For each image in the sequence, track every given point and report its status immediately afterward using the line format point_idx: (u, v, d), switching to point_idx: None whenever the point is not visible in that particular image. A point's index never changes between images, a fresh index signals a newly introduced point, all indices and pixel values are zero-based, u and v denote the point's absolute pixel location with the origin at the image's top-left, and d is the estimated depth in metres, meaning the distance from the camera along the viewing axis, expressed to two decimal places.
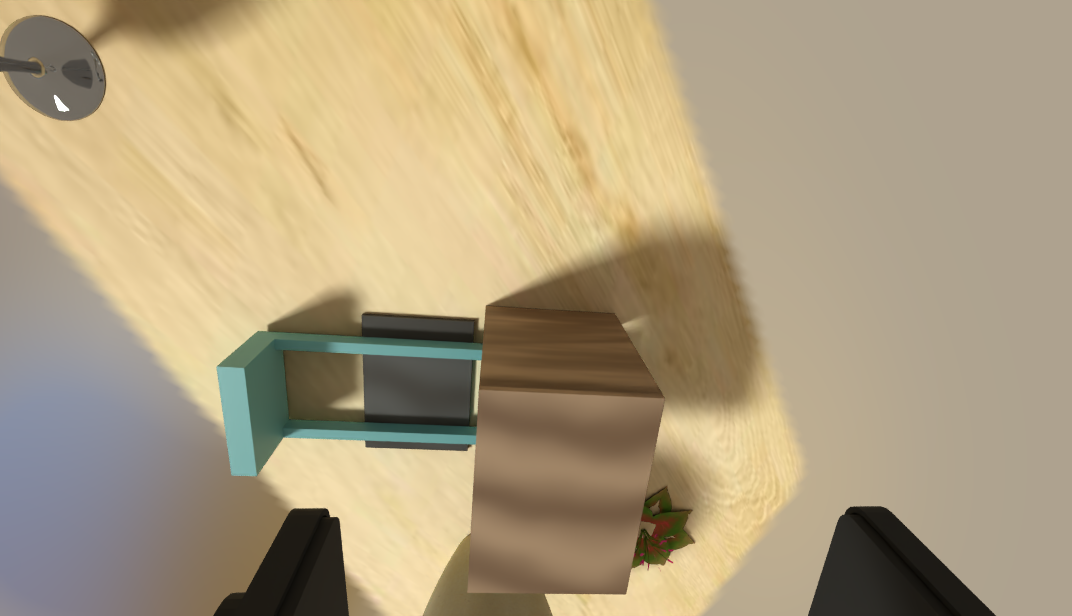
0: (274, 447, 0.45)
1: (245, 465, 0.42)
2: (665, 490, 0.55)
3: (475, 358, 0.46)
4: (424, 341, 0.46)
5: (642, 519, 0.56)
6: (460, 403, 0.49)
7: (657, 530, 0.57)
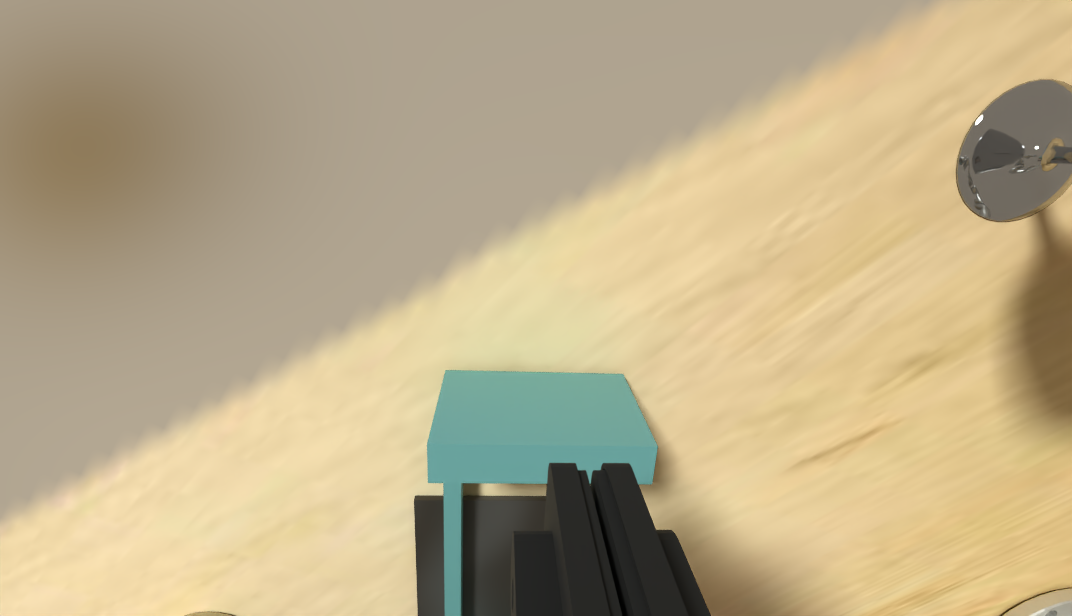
0: None
1: (451, 467, 0.22)
2: None
3: None
4: None
5: None
6: (497, 609, 0.34)
7: None
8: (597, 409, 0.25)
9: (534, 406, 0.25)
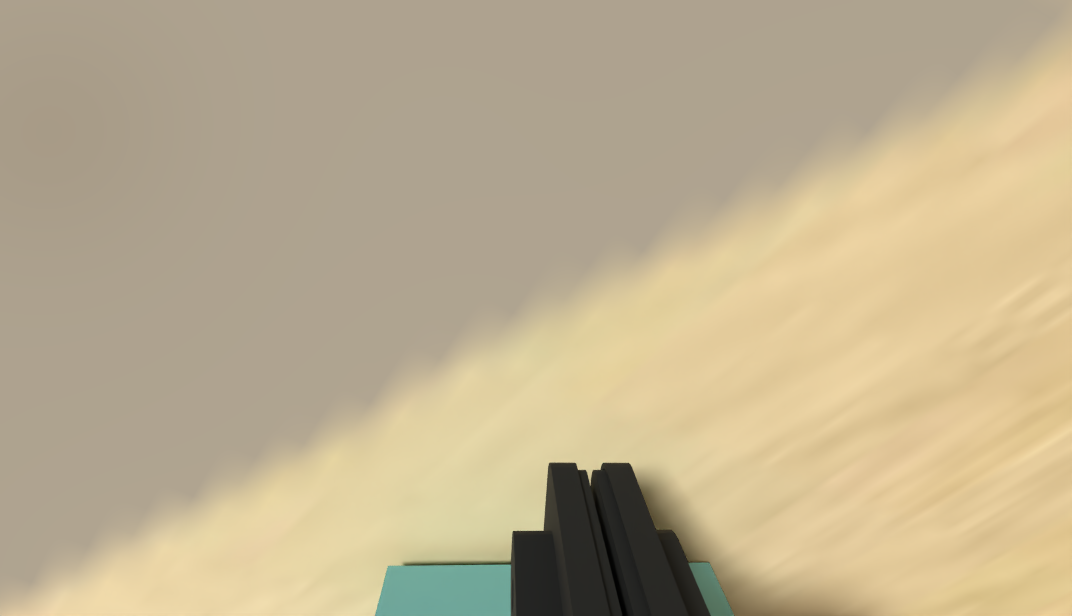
0: None
1: None
2: None
3: None
4: None
5: None
6: None
7: None
8: None
9: None
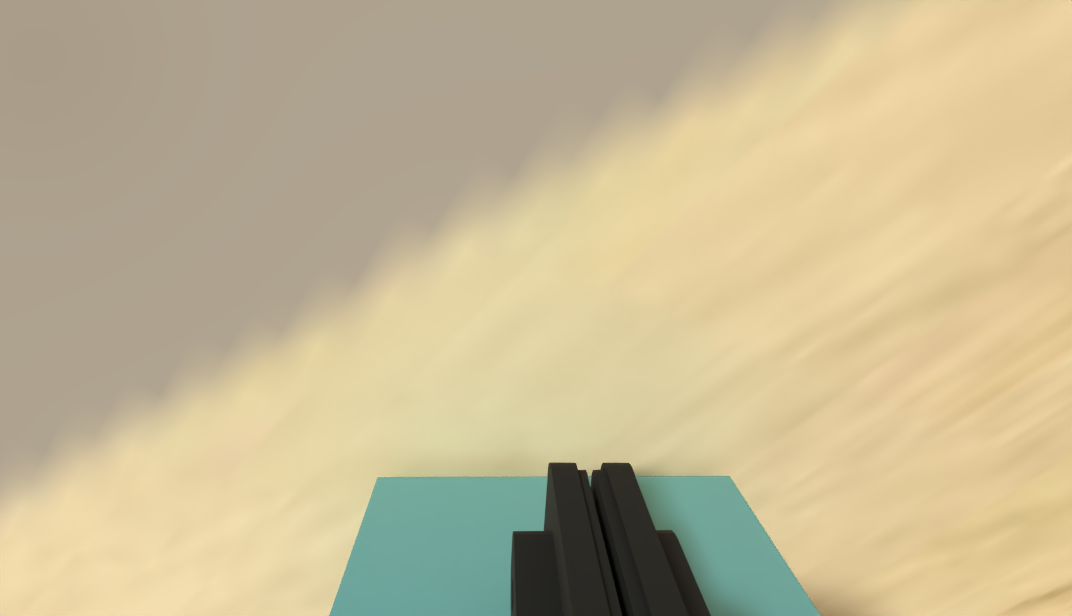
0: None
1: None
2: None
3: None
4: None
5: None
6: None
7: None
8: (709, 598, 0.11)
9: None
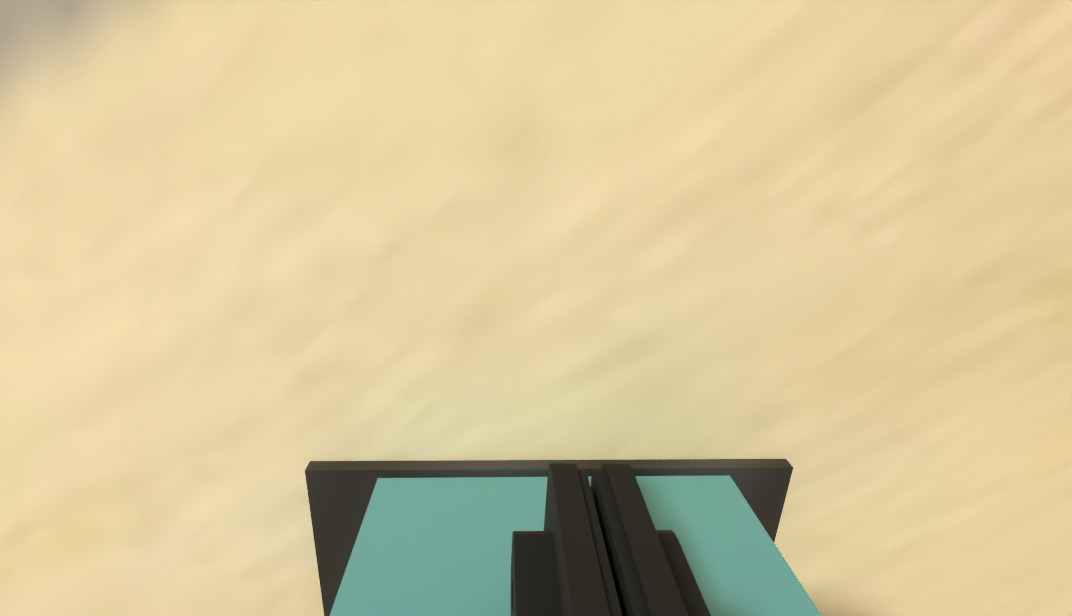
0: None
1: None
2: None
3: None
4: None
5: None
6: None
7: None
8: (709, 598, 0.11)
9: None
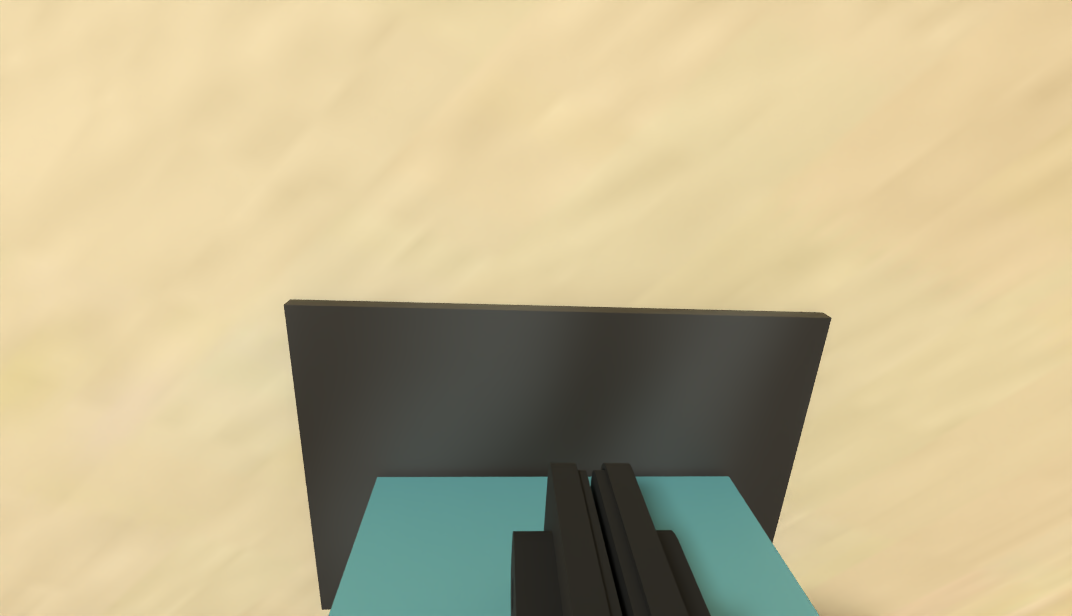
0: None
1: None
2: None
3: None
4: None
5: None
6: None
7: None
8: (708, 598, 0.11)
9: None
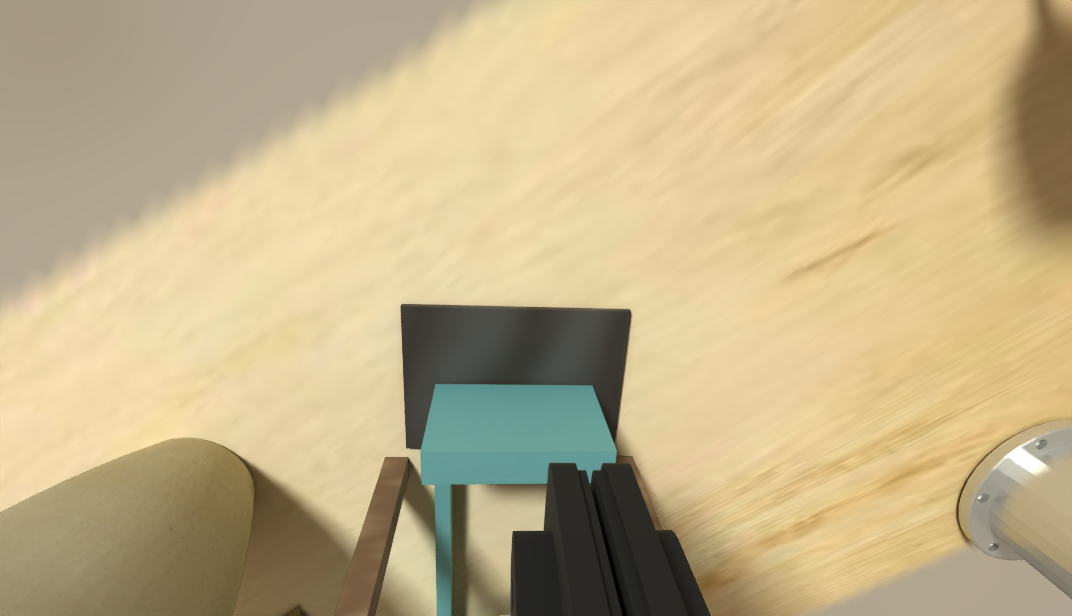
0: None
1: (441, 471, 0.26)
2: None
3: None
4: None
5: None
6: None
7: None
8: (567, 419, 0.29)
9: (513, 416, 0.29)
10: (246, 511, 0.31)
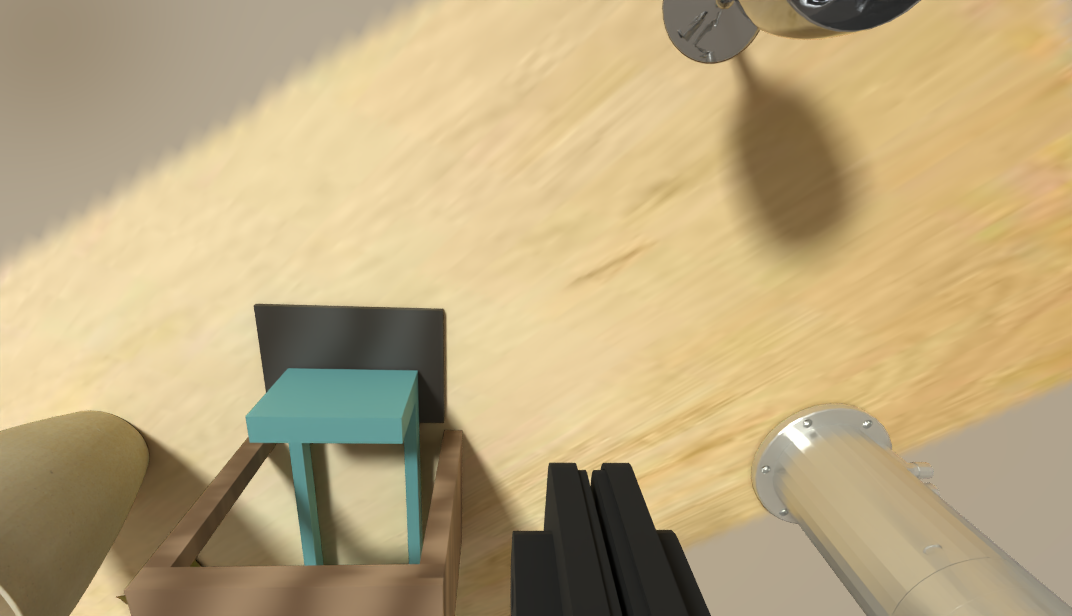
0: None
1: (264, 432, 0.34)
2: None
3: None
4: (421, 519, 0.45)
5: None
6: None
7: None
8: (378, 395, 0.36)
9: (335, 392, 0.36)
10: (132, 468, 0.38)
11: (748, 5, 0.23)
